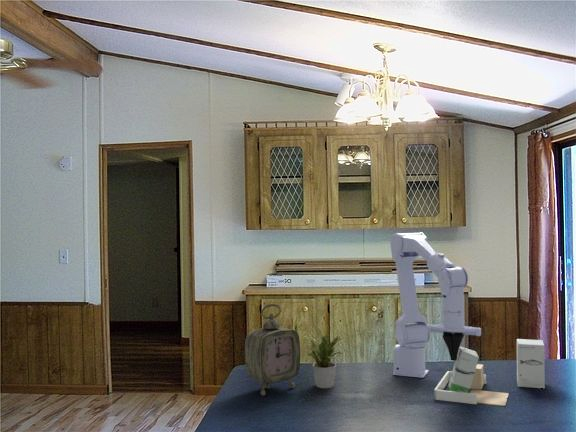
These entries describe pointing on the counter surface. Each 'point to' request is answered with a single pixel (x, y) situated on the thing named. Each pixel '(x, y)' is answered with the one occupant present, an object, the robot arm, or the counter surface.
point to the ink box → (463, 370)
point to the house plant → (324, 361)
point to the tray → (453, 392)
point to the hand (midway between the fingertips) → (453, 359)
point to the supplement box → (530, 363)
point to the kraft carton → (478, 378)
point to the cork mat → (491, 397)
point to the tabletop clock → (272, 353)
